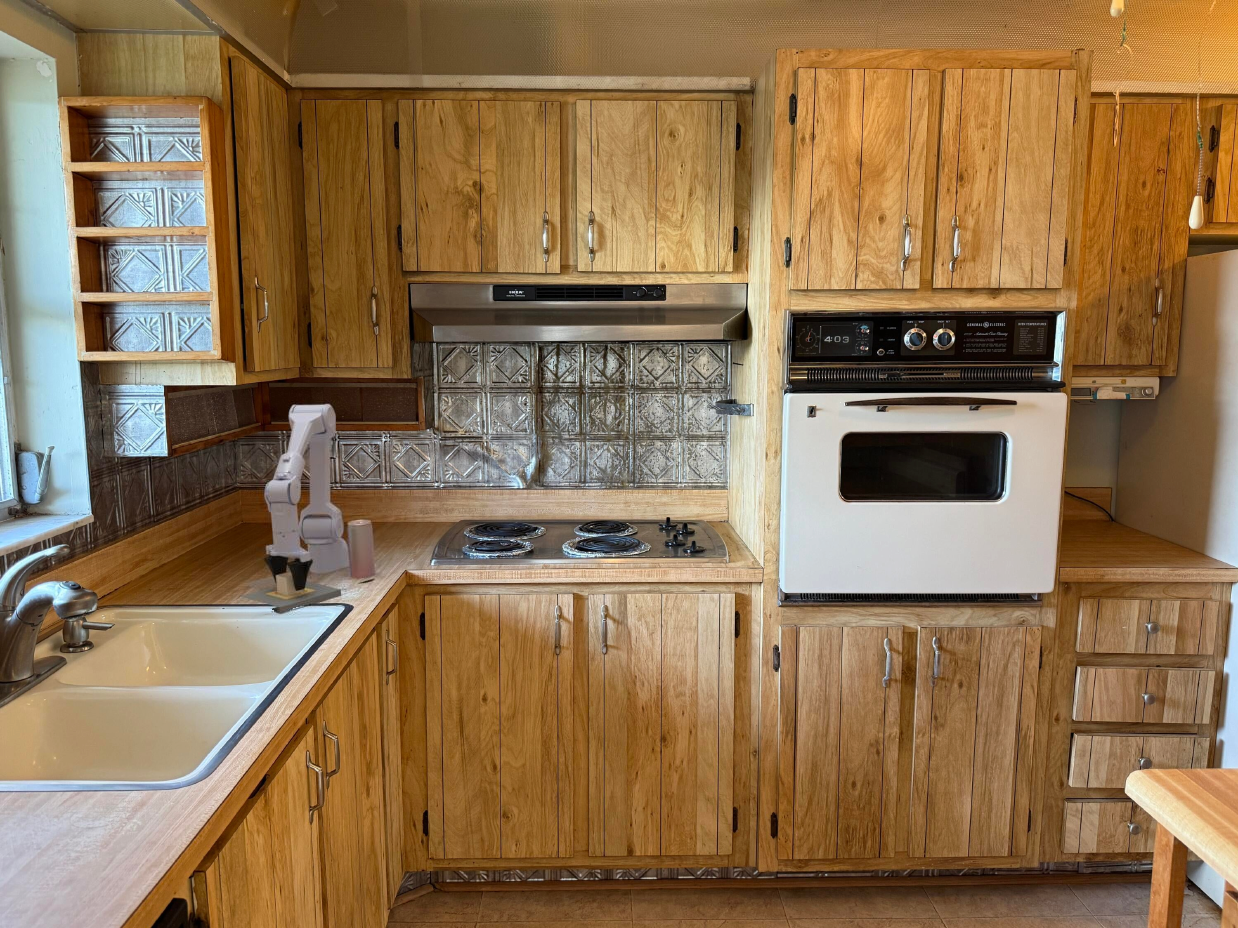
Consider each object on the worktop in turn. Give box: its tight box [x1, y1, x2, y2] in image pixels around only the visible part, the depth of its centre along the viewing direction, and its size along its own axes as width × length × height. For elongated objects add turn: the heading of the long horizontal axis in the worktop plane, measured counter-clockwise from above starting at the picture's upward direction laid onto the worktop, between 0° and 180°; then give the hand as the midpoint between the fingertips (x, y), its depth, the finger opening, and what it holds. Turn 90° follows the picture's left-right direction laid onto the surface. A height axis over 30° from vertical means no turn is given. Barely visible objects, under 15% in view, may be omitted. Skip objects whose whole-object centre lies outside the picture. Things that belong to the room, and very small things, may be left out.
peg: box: [276, 571, 304, 597], centre depth 203 cm, size 4×4×6 cm
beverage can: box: [346, 519, 376, 585], centre depth 217 cm, size 6×6×15 cm
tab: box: [243, 575, 277, 590], centre depth 213 cm, size 8×8×2 cm
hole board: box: [240, 580, 342, 615], centre depth 204 cm, size 16×16×2 cm
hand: (290, 587), depth 203 cm, fingers open, 7 cm apart
